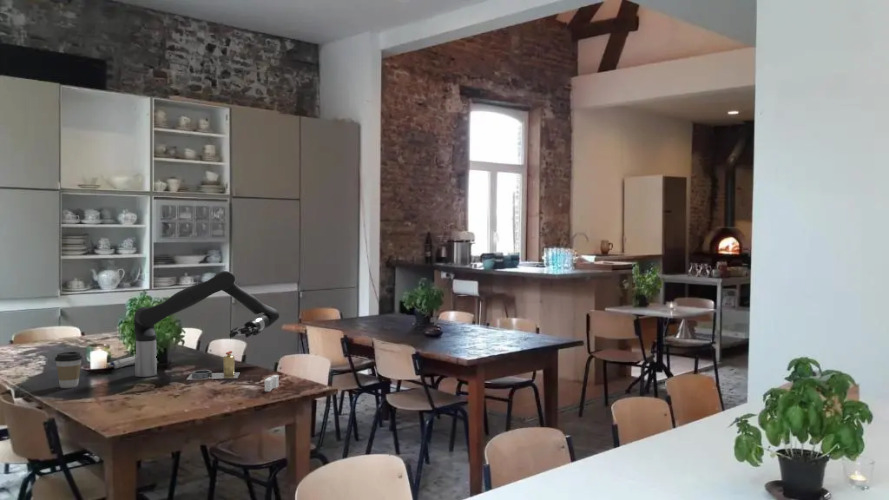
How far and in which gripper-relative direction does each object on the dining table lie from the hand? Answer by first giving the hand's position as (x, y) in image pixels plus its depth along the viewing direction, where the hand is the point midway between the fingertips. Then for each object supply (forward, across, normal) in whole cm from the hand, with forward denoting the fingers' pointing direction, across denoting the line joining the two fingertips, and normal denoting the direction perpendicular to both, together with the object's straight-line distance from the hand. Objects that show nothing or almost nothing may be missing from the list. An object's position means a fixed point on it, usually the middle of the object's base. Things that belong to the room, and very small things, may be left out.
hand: (238, 335), depth 357 cm
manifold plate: (+15, -7, +17) cm, 24 cm away
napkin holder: (+25, +29, +18) cm, 43 cm away
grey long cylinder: (-4, -66, +16) cm, 68 cm away
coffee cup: (+46, -61, +9) cm, 77 cm away
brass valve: (+12, -1, +16) cm, 20 cm away
